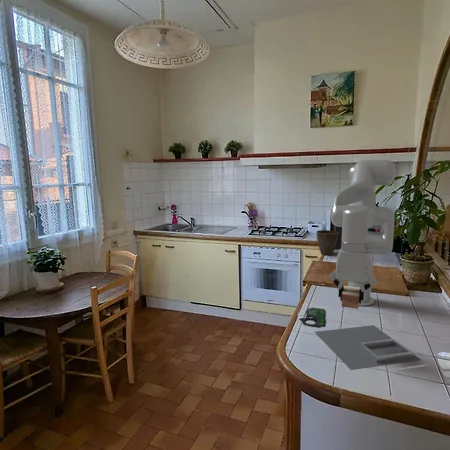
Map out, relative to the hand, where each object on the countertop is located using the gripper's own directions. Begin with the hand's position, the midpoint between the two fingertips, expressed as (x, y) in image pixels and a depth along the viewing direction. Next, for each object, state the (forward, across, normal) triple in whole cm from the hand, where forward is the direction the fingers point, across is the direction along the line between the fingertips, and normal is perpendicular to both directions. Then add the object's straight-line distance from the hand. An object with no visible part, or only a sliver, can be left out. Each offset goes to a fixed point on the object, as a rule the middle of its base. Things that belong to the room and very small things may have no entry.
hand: (350, 300), depth 106 cm
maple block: (+1, 0, 0) cm, 1 cm away
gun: (+16, +14, -15) cm, 26 cm away
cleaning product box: (+16, +10, -142) cm, 143 cm away
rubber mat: (+15, -5, 0) cm, 16 cm away
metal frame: (+15, -11, +2) cm, 19 cm away
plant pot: (+16, +21, -120) cm, 123 cm away
